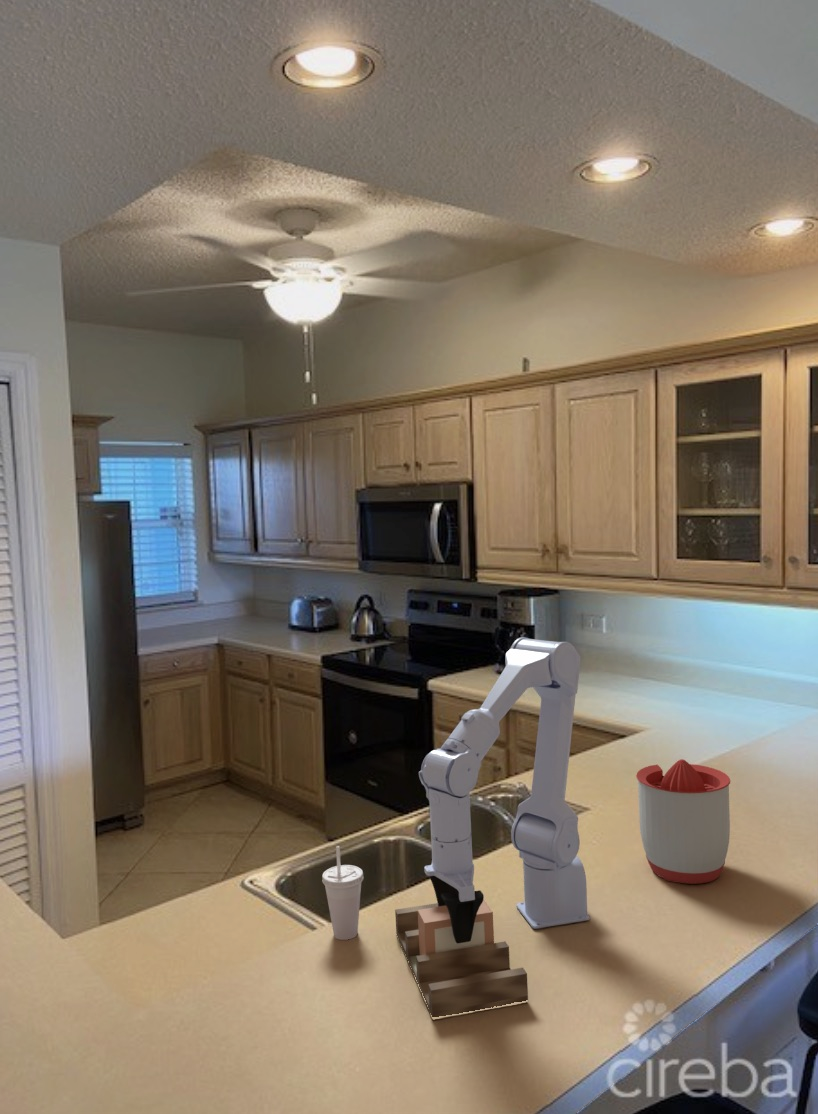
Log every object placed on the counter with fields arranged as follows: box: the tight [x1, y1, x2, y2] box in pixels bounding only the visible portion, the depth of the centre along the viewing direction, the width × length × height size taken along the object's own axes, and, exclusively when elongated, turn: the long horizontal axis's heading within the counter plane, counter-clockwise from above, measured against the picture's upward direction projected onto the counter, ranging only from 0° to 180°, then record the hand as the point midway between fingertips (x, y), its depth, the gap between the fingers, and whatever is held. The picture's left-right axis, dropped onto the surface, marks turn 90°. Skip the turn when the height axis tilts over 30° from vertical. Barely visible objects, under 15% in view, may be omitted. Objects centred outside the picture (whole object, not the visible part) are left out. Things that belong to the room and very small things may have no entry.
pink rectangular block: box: [418, 899, 495, 956], centre depth 118 cm, size 4×10×7 cm, turn 103°
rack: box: [394, 902, 529, 1017], centre depth 118 cm, size 13×22×4 cm, turn 13°
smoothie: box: [321, 845, 364, 941], centre depth 128 cm, size 6×6×14 cm
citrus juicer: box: [635, 758, 731, 885], centre depth 145 cm, size 16×17×20 cm
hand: (455, 927), depth 118 cm, fingers open, 7 cm apart
